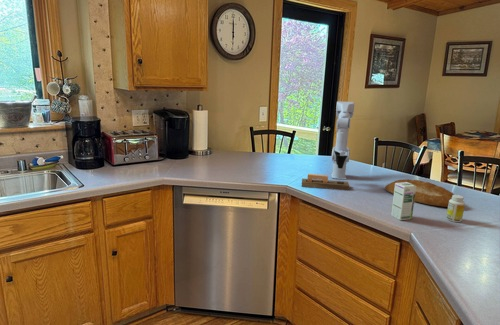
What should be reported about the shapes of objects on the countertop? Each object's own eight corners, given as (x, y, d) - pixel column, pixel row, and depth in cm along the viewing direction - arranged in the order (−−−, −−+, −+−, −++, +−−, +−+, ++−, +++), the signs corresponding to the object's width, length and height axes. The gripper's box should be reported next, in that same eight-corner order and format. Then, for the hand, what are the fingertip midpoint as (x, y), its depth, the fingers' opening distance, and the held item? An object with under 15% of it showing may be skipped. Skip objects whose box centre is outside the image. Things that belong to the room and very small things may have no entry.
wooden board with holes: (301, 182, 181) (302, 178, 180) (347, 186, 178) (347, 181, 177) (301, 186, 174) (301, 182, 174) (349, 190, 171) (349, 185, 170)
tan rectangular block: (307, 184, 179) (307, 173, 177) (327, 186, 177) (328, 175, 175) (306, 185, 176) (307, 174, 175) (327, 187, 174) (328, 176, 173)
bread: (393, 186, 180) (395, 170, 178) (468, 205, 155) (471, 187, 153) (377, 193, 168) (379, 176, 166) (456, 214, 143) (459, 195, 141)
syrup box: (400, 220, 135) (405, 186, 131) (390, 215, 140) (395, 182, 137) (412, 219, 136) (417, 185, 133) (402, 214, 142) (406, 181, 138)
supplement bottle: (463, 220, 137) (467, 196, 135) (459, 224, 133) (464, 199, 131) (447, 216, 141) (452, 193, 138) (444, 219, 137) (448, 196, 134)
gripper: (351, 143, 165) (348, 170, 169) (348, 139, 179) (345, 163, 183) (337, 143, 166) (334, 169, 170) (334, 138, 180) (332, 162, 184)
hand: (339, 166), depth 176 cm, fingers open, 7 cm apart
